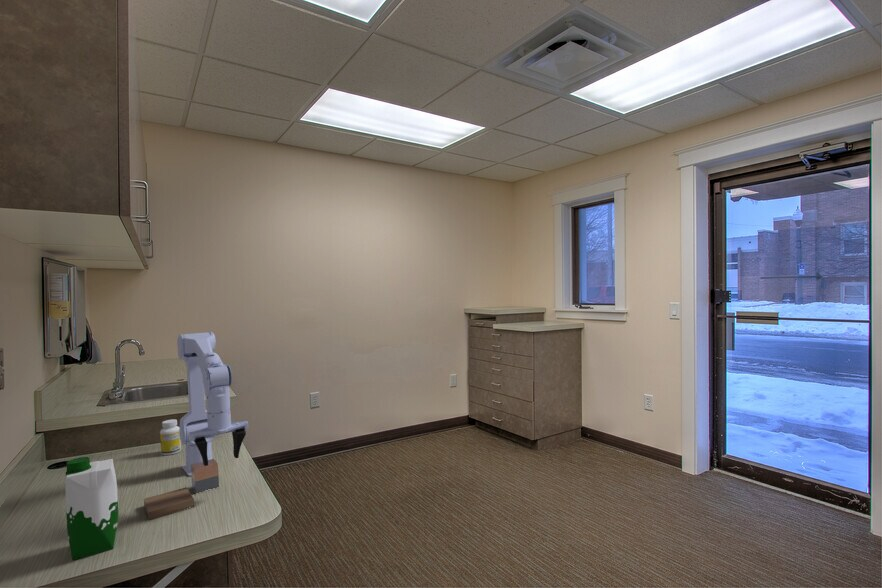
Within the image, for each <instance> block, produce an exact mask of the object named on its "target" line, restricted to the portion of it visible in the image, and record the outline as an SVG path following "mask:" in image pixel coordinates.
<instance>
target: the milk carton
mask: <svg viewBox="0 0 882 588" xmlns="http://www.w3.org/2000/svg"><path fill="white" fill-rule="evenodd" d="M90 460H91V459H90V457H88V456H82V457H76V458H73V459H71V460H68V461H67V462H65V463H66V465H65V466H66V471H65V511H66V514H65V515H66V532H67V540H68V545H69V549H70V554H71V559H72V561H74V560H77V559H81V558H85V557H89V556H92V555H97V554H100V553H103V552H107V551H111V550H114V546H115V541H116V535H117V530H118V522H119V496H118V495H119V494H118V483H117V475H116V470H115V465H114V459H113V458H110V459H105V460H104V459H103V460H95V461H90Z"/></svg>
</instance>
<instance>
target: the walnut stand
mask: <svg viewBox="0 0 882 588" xmlns="http://www.w3.org/2000/svg"><path fill="white" fill-rule="evenodd" d="M193 506H194V507H195V499H194V497H193V495H192V494H191V492H190V490H189V489H188V488H187V487H183V488H179V489H175V490H172V491H169V492H168V491H167V492H165V493H161V494H156V495H154V496H149V497H146V498H143V507H144V510H145V513H146V514H147V517H148V520H149V521H151V520H154V519H158V518H161V517H165V516H167V515H171V514H175V513H179V512H182V511H184V509H185V510H188V509H190V508H189V507H191V508H194V507H193ZM187 508H188V509H187Z"/></svg>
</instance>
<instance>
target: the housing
mask: <svg viewBox="0 0 882 588" xmlns="http://www.w3.org/2000/svg"><path fill="white" fill-rule="evenodd" d="M217 487H219V488H220V476H219V463H218V462H217V460H215V458H212V459H211V460H208V466H204V464H203V462H199V463H195V464H191V490H192V491H193V490H194V491H195V492H194V491H193V492H194V494H195V493H198V494H200V493H199V492H201V493H203V492H202V491H205V490H208V489H212V490H214V489H213V488H215V489H218V488H217ZM208 491H209V490H208ZM205 492H206V491H205Z"/></svg>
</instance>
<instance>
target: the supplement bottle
mask: <svg viewBox="0 0 882 588" xmlns="http://www.w3.org/2000/svg"><path fill="white" fill-rule="evenodd" d="M161 427H162V429H160V431H159V436H160V440H159V441H160V452H161V455H162V456H171V455H176V454H178V453H180V452H181V451H182V442H181V440H180V434H179V427H180V426H178V420H177V419H175V418H174V419H172V418H171V419H167V420H164V421H162V422H161Z"/></svg>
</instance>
